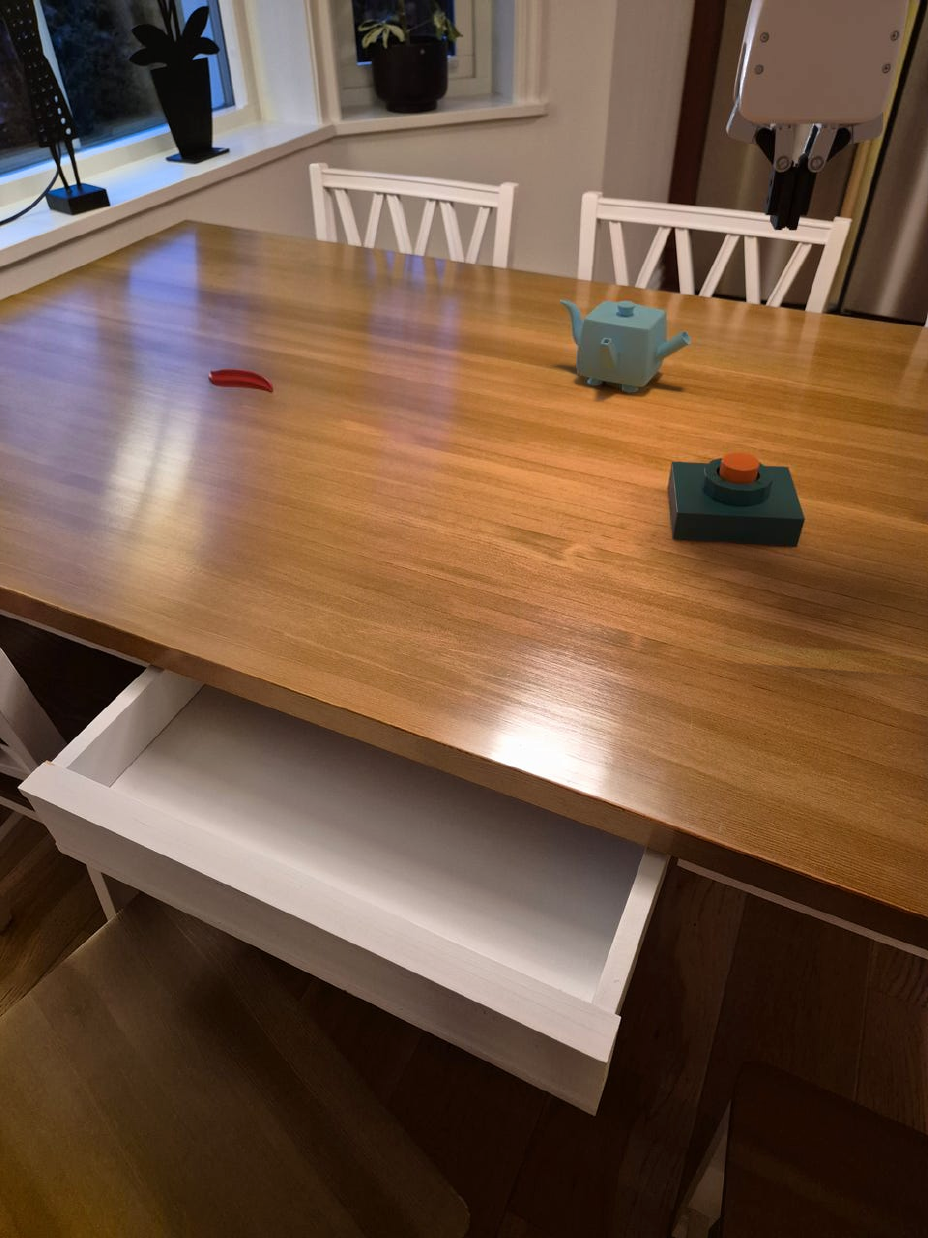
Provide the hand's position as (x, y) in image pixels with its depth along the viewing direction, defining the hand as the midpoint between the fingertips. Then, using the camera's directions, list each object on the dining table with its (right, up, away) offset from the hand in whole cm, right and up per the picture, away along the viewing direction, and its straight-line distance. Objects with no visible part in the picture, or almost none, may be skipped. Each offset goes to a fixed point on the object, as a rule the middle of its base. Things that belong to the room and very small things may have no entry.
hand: (782, 224), depth 64 cm
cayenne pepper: (-56, +2, +50) cm, 74 cm away
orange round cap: (+3, -16, +19) cm, 25 cm away
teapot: (-4, +1, +47) cm, 47 cm away
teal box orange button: (+3, -20, +22) cm, 29 cm away
